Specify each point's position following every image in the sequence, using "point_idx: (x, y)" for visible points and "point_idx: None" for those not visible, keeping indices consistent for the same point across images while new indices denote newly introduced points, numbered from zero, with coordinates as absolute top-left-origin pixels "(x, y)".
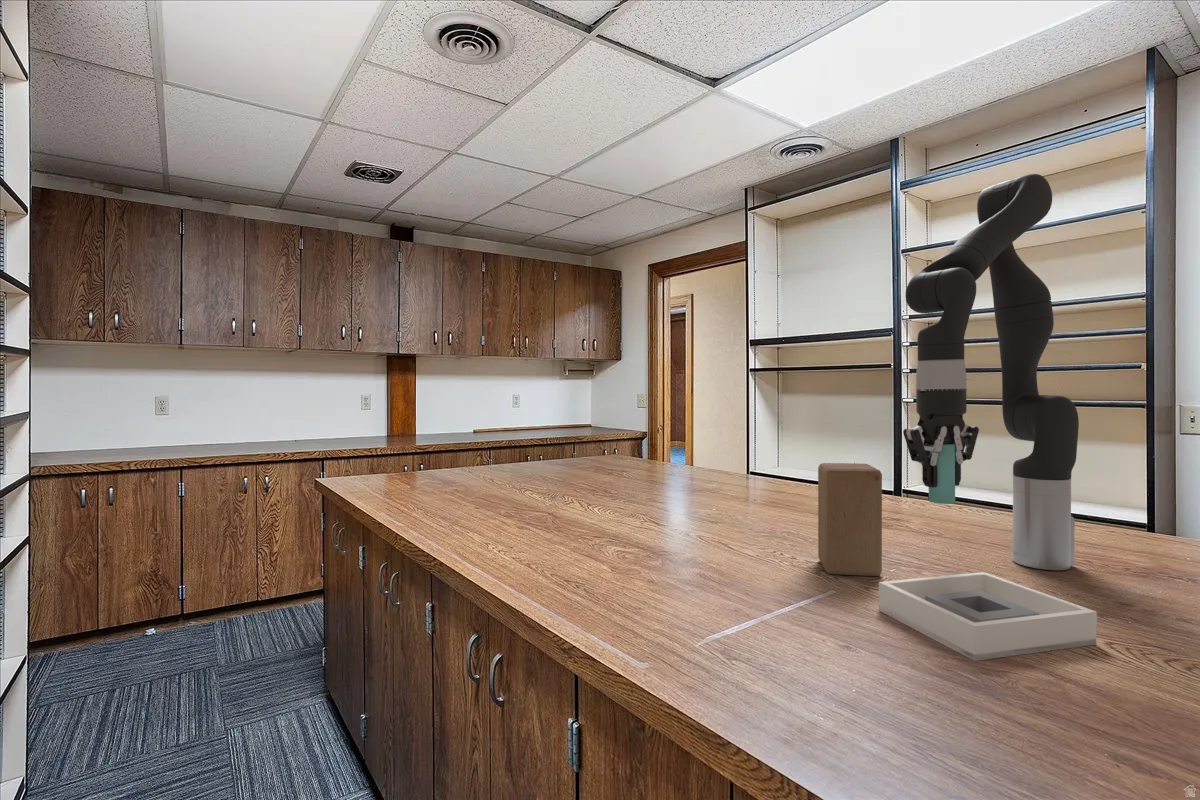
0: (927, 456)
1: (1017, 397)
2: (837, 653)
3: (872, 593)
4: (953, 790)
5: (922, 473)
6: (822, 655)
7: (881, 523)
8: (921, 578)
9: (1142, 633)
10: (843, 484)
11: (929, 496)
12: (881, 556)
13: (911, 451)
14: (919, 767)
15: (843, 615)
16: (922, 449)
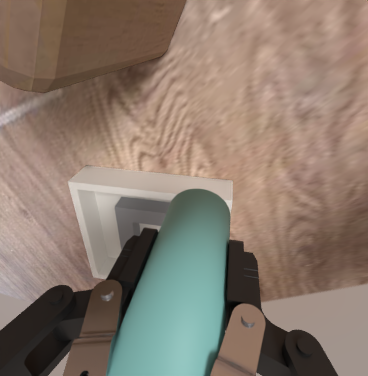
0: (114, 319)
1: None
2: (14, 217)
3: (108, 116)
4: (27, 301)
5: (117, 258)
6: (3, 215)
7: (132, 62)
8: (127, 190)
9: (283, 278)
10: None
11: (167, 210)
12: (156, 55)
13: (17, 329)
14: (20, 292)
15: (43, 162)
16: (36, 373)
